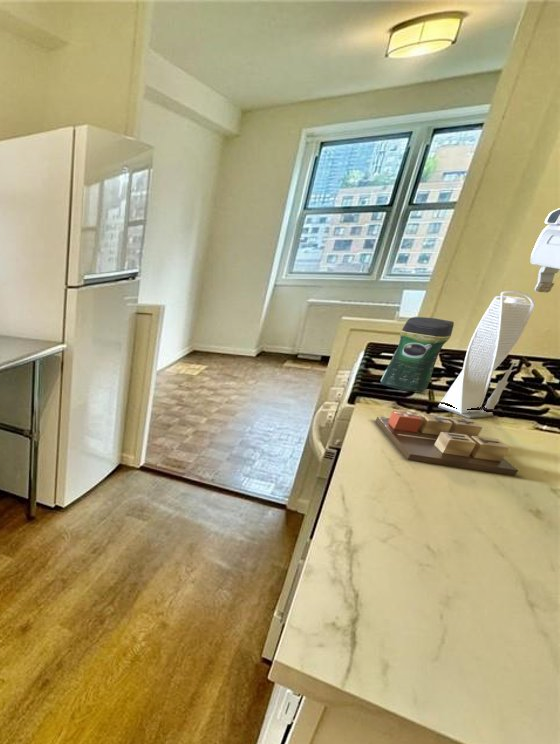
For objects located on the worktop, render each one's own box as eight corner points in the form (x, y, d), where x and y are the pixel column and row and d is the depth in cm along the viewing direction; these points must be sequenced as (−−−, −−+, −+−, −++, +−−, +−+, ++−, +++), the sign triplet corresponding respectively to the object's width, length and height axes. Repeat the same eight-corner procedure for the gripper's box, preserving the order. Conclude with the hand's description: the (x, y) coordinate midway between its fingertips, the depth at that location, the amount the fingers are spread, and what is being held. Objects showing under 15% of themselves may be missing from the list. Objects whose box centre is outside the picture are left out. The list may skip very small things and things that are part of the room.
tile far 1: (490, 452, 94) (498, 438, 93) (501, 461, 91) (509, 447, 90) (464, 449, 96) (472, 435, 94) (474, 457, 93) (482, 443, 91)
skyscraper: (464, 418, 112) (530, 294, 99) (428, 405, 119) (485, 288, 106) (492, 415, 114) (560, 293, 101) (455, 403, 121) (514, 287, 108)
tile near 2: (439, 429, 104) (446, 416, 103) (448, 436, 101) (455, 423, 99) (414, 425, 106) (421, 412, 104) (422, 433, 102) (429, 419, 101)
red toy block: (411, 425, 106) (417, 412, 104) (418, 432, 103) (425, 419, 101) (385, 422, 107) (391, 409, 106) (392, 429, 104) (398, 415, 103)
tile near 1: (466, 432, 103) (473, 419, 101) (475, 440, 99) (483, 426, 98) (442, 429, 104) (449, 416, 103) (450, 437, 101) (457, 423, 99)
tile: (459, 448, 96) (466, 434, 95) (468, 457, 93) (476, 442, 91) (433, 444, 97) (441, 430, 96) (442, 453, 94) (450, 439, 93)
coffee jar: (428, 389, 130) (462, 319, 121) (419, 395, 126) (453, 323, 117) (385, 379, 137) (413, 313, 128) (374, 385, 133) (403, 316, 124)
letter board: (464, 433, 105) (467, 427, 105) (515, 475, 89) (518, 469, 88) (375, 421, 111) (377, 416, 110) (407, 459, 94) (410, 453, 94)
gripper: (674, 216, 76) (618, 306, 82) (586, 213, 92) (546, 288, 99) (619, 216, 78) (568, 304, 84) (543, 213, 95) (505, 286, 101)
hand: (555, 295), depth 92 cm, fingers open, 8 cm apart
